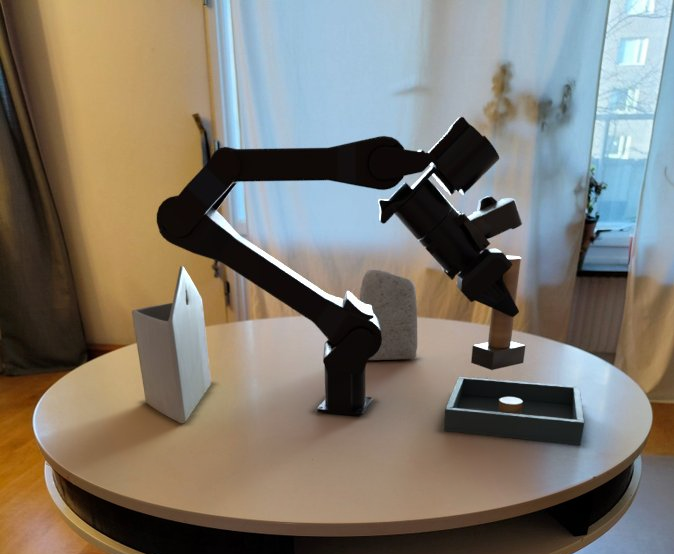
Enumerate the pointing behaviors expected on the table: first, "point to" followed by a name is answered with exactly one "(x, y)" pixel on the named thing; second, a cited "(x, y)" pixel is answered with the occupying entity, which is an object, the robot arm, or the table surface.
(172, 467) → the table surface
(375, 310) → the decorative stone
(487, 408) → the tray
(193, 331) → the planter
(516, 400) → the orange brown short cylinder
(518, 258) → the brush
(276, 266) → the robot arm
